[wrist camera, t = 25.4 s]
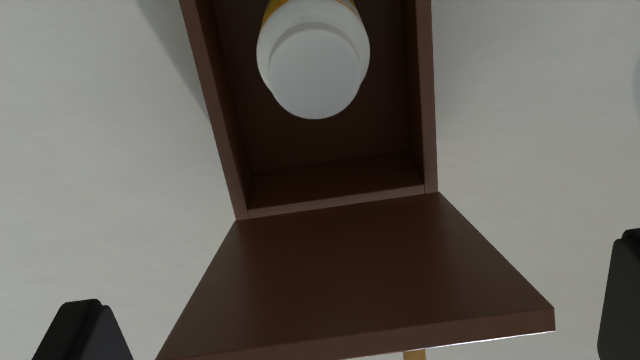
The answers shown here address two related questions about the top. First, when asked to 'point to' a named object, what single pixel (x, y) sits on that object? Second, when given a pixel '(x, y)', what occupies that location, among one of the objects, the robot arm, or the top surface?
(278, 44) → the supplement bottle
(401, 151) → the brown box
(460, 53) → the top surface
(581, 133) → the top surface
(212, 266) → the brown drawer front
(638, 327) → the robot arm
